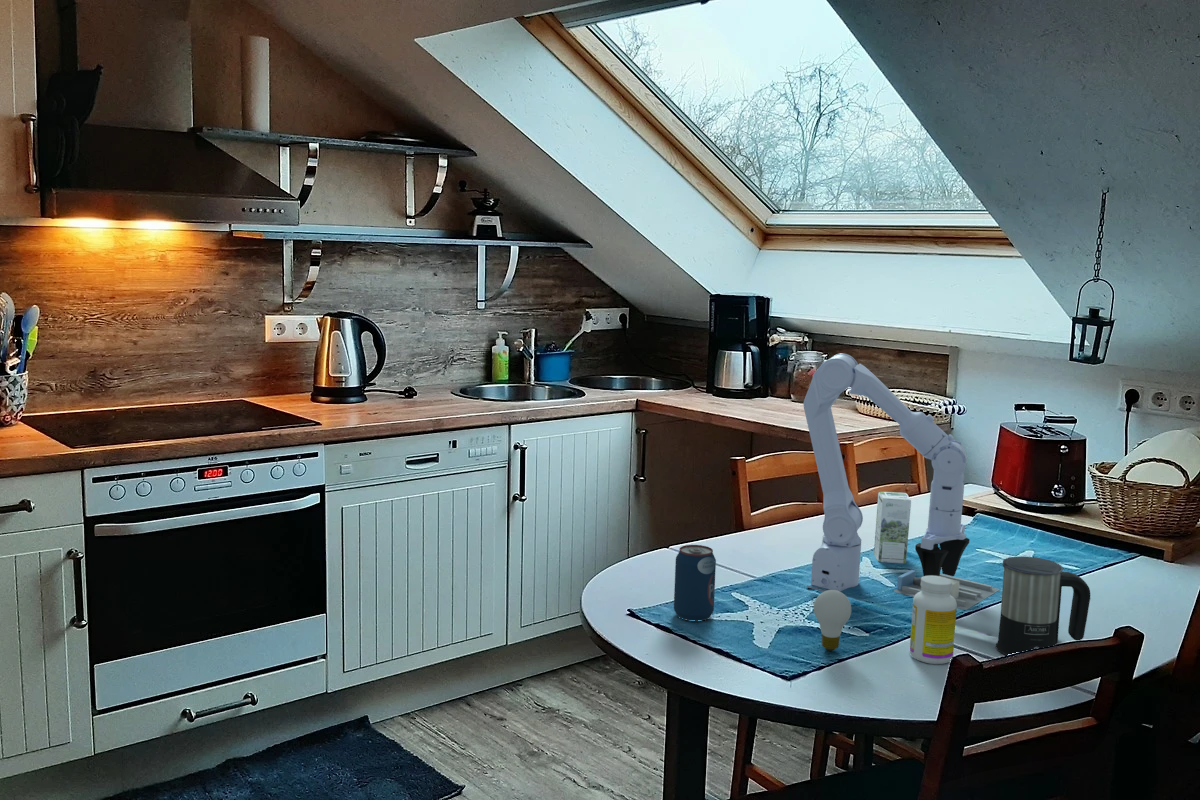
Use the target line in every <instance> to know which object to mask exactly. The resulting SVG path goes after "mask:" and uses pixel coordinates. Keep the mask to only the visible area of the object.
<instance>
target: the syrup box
mask: <svg viewBox="0 0 1200 800" xmlns="http://www.w3.org/2000/svg"><path fill="white" fill-rule="evenodd" d="M911 507H912V500H911V498H910V496H909V495H908V494H907V493H906V492H893V491H878V493H877V507H876V520H875V521H876V523H875V532H874V533H875V536H874V548H873V549H874V550H873V555H874V557H875V558H876V560H877V562H879V563H893V564H907V556H908V555H907V554H908V546H909V545H908V543H909V531H910V530H909V529H910V519H911V518H910V517H911V509H912V508H911Z"/></svg>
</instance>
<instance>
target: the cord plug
mask: <svg viewBox="0 0 1200 800" xmlns="http://www.w3.org/2000/svg"><path fill="white" fill-rule="evenodd" d="M922 576H923V577H924V575H922ZM950 580H951V581H952V589H951V591H950V595H951V596H953V597H954V598H957V597H958V595H959V583H960V581H957V580H952V579H950ZM913 584H914V585H918V586H921V585H920V584H921V578H920V577H917V576H915V577H914V579H913ZM921 590H922V588H921Z"/></svg>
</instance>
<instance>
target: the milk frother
mask: <svg viewBox="0 0 1200 800" xmlns="http://www.w3.org/2000/svg"><path fill="white" fill-rule="evenodd" d="M1002 566H1003V575H1002V576H1003V579H1002V589H1001V590H1002V592H1001V602H1000V603H1001V604H1000V606H1001V607H1000V619H999V629H998V636H997V642H996V644H995V647H996V650H997V651H998V652H999V653H1001V654H1002V655H1005V656H1007V655H1008V654H1012V653H1016V652H1022V651H1026V650H1031V649H1037V648H1043V647H1048V646H1053V645H1055V646H1056V645H1058V644H1059V643H1058V641H1059V628H1060V626H1059V624H1060V613H1061V603H1062V588H1063V587H1071V588H1072V591H1073V592H1072V600H1071V607H1070V614H1069V622H1068V630H1067V631H1068V635H1069V636H1070V637H1071V638H1072V640H1074V641H1076V642H1077V641H1081V640H1083V638H1084V637H1085V633H1086V628H1087V627H1086V626H1087V619H1088V614H1089V608H1090V602H1091V590H1090V587H1089V585H1088V584H1087V582H1086V581H1085V580H1084V579H1083V578H1082V577H1080V576H1079V575H1077V574H1075V573H1073V572H1069V571H1063V570H1064V567H1063V566H1062V565H1061V564H1059V563H1058V562H1056V561H1053V560H1050V559H1046V558H1040V557H1034V556H1023V555H1022V556H1010V557H1006V558H1005V559H1003V560H1002Z"/></svg>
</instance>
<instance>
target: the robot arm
mask: <svg viewBox="0 0 1200 800" xmlns="http://www.w3.org/2000/svg"><path fill="white" fill-rule="evenodd" d="M848 388H850V391H849V394H851V395H858V396H863V397H864V396H865V398H868V399H869V400H870V401H871V402H873V404H875V405H876V406H878V408H880V409H881V410H882V412H884V413H885V414H886V415H888V416H889V417H890V418H891V419H892V420H894V421H895V422H896V424H898V425H899V434H900V436H901V438H903V439H904V440H905V441H907V443H908V444H910V445H911V446H912V447H913V448H914V449H915V450H916V451H917V452H919V454H921V455H922V456H923V458H925V459H927V460H930V461H931V466H932V468H933V478H932V481H931V484H930V493H929V494H930V496H929V506H928V507H929V508H928V517H927V519H928V521H927V528H925V533H924V535H923V536H922V537H921V541H920V542H918V543H916V544H915V547H914V548H915V552H916V554H917V555H918V558H919V561H920V564H921V569H922V573H923V575H922V576H940V574H944V575H948V576H952V577H955V575H956V574H957V573H956V572H957V570H958V566H959V564H960V561H961V557H962V555H964V554H963V553H964V551H965V550H966V548H967V546H968V545H969V544H970V538H968V537H967V534H965V533H966V532H965V531H966V530H965V529H966V525H965V524H963V523H962V518H963V517H962V515H963V503H964V491H965V484H964V481H965V470H966V468H967V464H968V463H967V459H968V454H967V451H966V448H965V447H964V446H963V445H962V443H961V442H960V441H958V440H957V439H956V440H955V437H954V435H952V434H951V433H949V434H947V433H946V432H945V430H944V431H943V430H942V428H940V426H939V425H937V424H936V423H935V422H934V420H935V417H934V416H932V414H930V413H929V414H928V415H926V414H925V413H924V412H923V411H912V410H910V408H909V407H907V406H906V404H904V403H903V401H901V400H900V399H899V398H898V396H897V395H896V394H894V393H893V392H892V390H890V389H889V387H887V385H885V383H883V382H882V381H881V379H879V378H878V377H877V376H876V375H875V374H874V373H873V372H871V370H869V369H868V368H867V367H866V366H865V365H863V364H862V363H859V364H858V362H857V360H856V359H855V358H854V357H853V356H851V355H850V354H847V353H837V354H835V355H832V356H831V357H830V358H829V359H826V360H825V361H823V362H822V364H821V365H820V366H819V367H818V368H817V370H816V371H815V372H814V373H813V375H812V378H811V381H810V384H809V387H808V389H807V391H806V395H805V398H804V400H803V409H804V415H805V418H806V423H807V428H808V432H809V433H808V434H809V437H810V441H811V446H812V450H813V454H814V459H815V463H816V466H817V467H816V468H817V472H818V476H819V481H820V485H821V490H822V494H823V501H822V502H823V504H822V505H823V506H822V507H823V513H824V517H823V518H824V519H823V522H822V532H823V535H822V540H821V544H820V547H819V548H817V550H815V552H813V555H812V560H811V561H812V563H811V578H810V580H811V581H810V585H811V586H810V585H806V588H809V589H813V590H815V591H816V590H817V591H820V592H824V591H827V590H837V591H840V592H842V591H844V590H847V589H850V588H856V587H857V586H858V585H859V582H860V581H859V580H860V568H861V567H860V565H861V554H862V553H861V552H862V551H861V550H862V539H861V537H860V536H859V534H858V533H859V532H858V530H859V529H860V528H861V527H862V524H863V520H864V518H863V517H864V516H863V513H862V510H861V509H860V507H859V506H858V505H857V504H856V502H855V499H854V495H853V493H852V490H851V489H850V487H849V482H848V479H847V472H846V469H845V465H844V460H843V455H842V452H841V445H840V441H839V438H838V434H837V428H836V425H835V420H834V415H833V411H832V407H833V405H834V403H836V400H838V398H839V397H840V396H841V394H842V393H843V392H845V391H846V390H847V389H848ZM941 572H942V573H941ZM818 587H819V588H818ZM822 588H823V589H822Z"/></svg>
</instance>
